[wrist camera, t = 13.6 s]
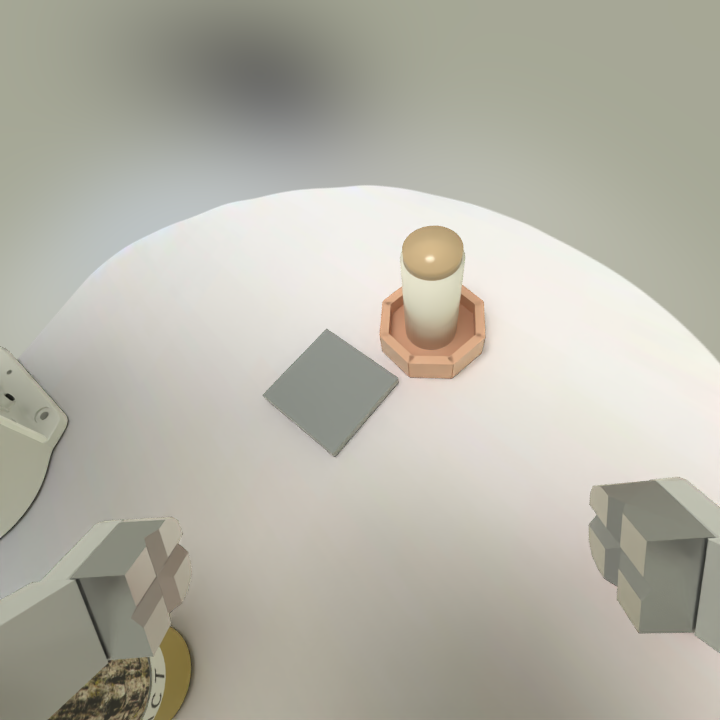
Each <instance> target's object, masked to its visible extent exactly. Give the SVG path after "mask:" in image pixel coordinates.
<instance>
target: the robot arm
mask: <svg viewBox="0 0 720 720" xmlns="http://www.w3.org/2000/svg"><path fill="white" fill-rule="evenodd" d="M47 416H48V417H47ZM46 417H47V418H46ZM67 421H68V419H67V416H66V415H65V413H64V412H63V411H62V410H61V409H60V408H59V407H58V406H57V404H56V403H55V402H54V401H53V400H52V399H51V398H50V397H49V395H48V394H47V393H46V392H45V391H44V390H43V389H42V388H41V386H40V385H39V384H38V383H37V382H36V381H35V380H34V379H33V377H32V376H31V375H30V374H29V373H28V372H27V371H26V370H25V368H24V367H23V366H22V365H21V364H20V363H19V362H18V361H17V359H16V358H15V357H14V356H13V355H12V354H11V353H10V352H9V351H8V350H7V349H5V348H3V347H1V346H0V538H1V537H2V536H3V535H4V534H5V533H6V532H7V531H9V530H10V529H11V528H12V527H13V526H14V525H15V524H16V522H17V521H18V520H19V519H20V518H21V517H22V515H23V514H24V513H25V512H26V510H27V509H28V507H29V506H30V504H31V503H32V501H33V500H34V498H35V496H36V495H37V493H38V491H39V489H40V487H41V484H42V482H43V480H44V477H45V474H46V471H47V467H48V463H49V459H50V456H51V453H52V450H53V448H54V446H55V445H56V443H57V442H58V440H59V439H60V437H61V435H62V434H63V432H64V430H65V428H66V425H67ZM589 505H590V506H591V507H592V509H593V510H594V512H595V513H596V514H597V515H596V517H595V518H594V519H593V520H592V521H591V523H590V524H589V544H590V548H591V553H592V556H593V559H594V561H595V564H596V566H597V568H598V570H599V571H600V573H601V575H602V576H603V578H604V579H606V580H607V581H609V582H610V583H612V584H614V585H615V586H617V587H618V588H617V600H618V602H619V603H620V605H621V606H622V608H623V610H624V611H625V613H626V614H627V616H628V617H629V619H630V621H631V622H632V624H633V625H634V627H635V629H636V630H637V632H638V633H685V632H695V636H697V637H698V638H699V639H701V640H702V641H703V642H705V643H706V644H708V645H709V646H710V647H712V648H713V649H714V650H716V651H717V652H719V653H720V507H719V506H717V505H716V504H715V503H714V502H713V501H711V500H710V499H709V498H708V497H707V496H705V495H704V494H703V493H702V492H701V491H699V490H698V489H697V488H696V487H695V486H693V485H692V484H691V483H690V482H689V481H687V480H686V479H683V478H680V477H672V478H663V479H654V480H649V481H640V482H629V483H617V484H605V485H594V486H593V487H592V489H591V492H590V504H589ZM182 535H183V533H182V530H181V527H180V524H179V521H178V520H177V519H175V518H173V517H159V518H140V519H126V520H123V519H122V520H109V521H102V522H100V523H97V524H95V525H94V526H93V527H92V528H91V529H90V530H89V531H88V532H87V533H86V534H85V535H84V537H83V538H82V539H81V540H80V541H79V542H78V543H77V544H76V545H75V546H74V547H73V548H72V549H71V550H70V551H69V552H68V553H67V554H66V555H65V556H64V557H63V558H62V559H61V560H60V561H59V562H58V563H57V565H56V566H55V567H54V568H53V569H52V570H51V571H50V572H49V573H48V574H47V575H46V576H45V577H44V578H43V579H42V580H41V581H40V582H32V583H30V584H28V585H26V586H25V587H23V588H21V589H19V590H18V591H16V592H14V593H12V594H10V595H9V596H7V597H5V598H3V599H2V600H0V720H48V719H49V718H50V717H51V716H52V715H53V714H54V713H55V712H56V711H58V710H59V709H60V708H61V707H62V706H63V705H64V704H65V703H66V702H67V701H68V700H69V699H70V698H71V697H72V696H74V695H75V694H76V693H77V692H78V691H79V690H80V689H81V688H82V687H83V686H84V685H85V684H86V683H87V682H88V681H89V680H91V679H92V678H93V677H94V676H95V675H96V674H97V673H98V672H99V671H100V670H101V669H102V668H103V667H104V666H105V665H107V664H108V660H118V659H130V658H142V657H154V655H155V653H156V651H157V649H158V647H159V646H160V644H161V642H162V640H163V638H164V636H165V634H166V632H167V631H168V629H169V627H170V625H171V620H170V616H169V613H170V612H172V611H173V610H174V609H175V608H176V607H178V606H179V605H180V604H181V603H182V602H183V600H184V598H185V596H186V594H187V592H188V590H189V585H190V580H191V575H192V571H191V560H190V557H189V553H188V552H187V551H186V550H185V549H184V548H183V547H182V546H181V545H179V544H178V543H179V541H180V539H181V537H182Z"/></svg>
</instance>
